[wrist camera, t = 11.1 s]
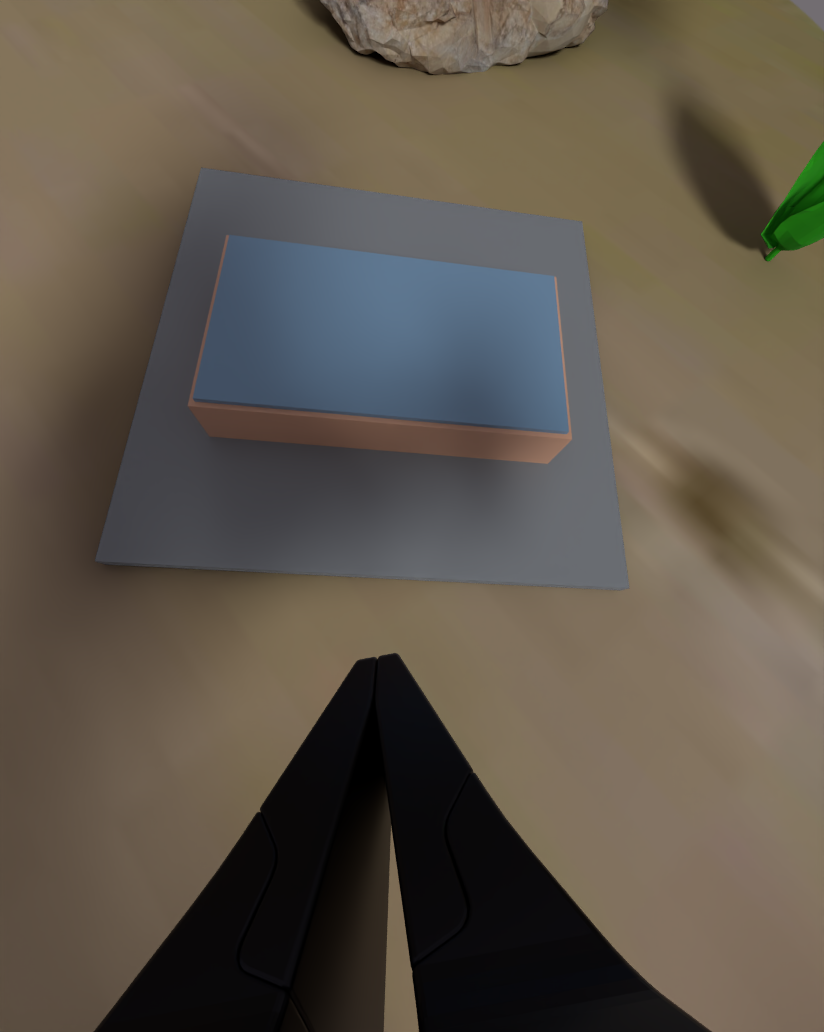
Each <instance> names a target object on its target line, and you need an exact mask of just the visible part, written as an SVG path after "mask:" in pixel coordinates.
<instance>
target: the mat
mask: <svg viewBox="0 0 824 1032" xmlns="http://www.w3.org/2000/svg"><path fill="white" fill-rule="evenodd" d="M226 235H235V236H243V237H251V238H259V239H267V240H275V241H282V242H290V243H298V244H306V245H314V246H322V247H330V248H338V249H345V250H353V251H361V252H369V253H377V254H385V255H393V256H400V257H408V258H416V259H424V260H432V261H440V262H448V263H456V264H463V265H471V266H479V267H487V268H495V269H503V270H511V271H518V272H526V273H534V274H542V275H550V276H554V277H556V279H557V290H558V300H559V310H560V320H561V331H562V341H563V351H564V361H565V372H566V382H567V392H568V403H569V413H570V423H571V433H572V440H571V441H570V442H569V443H568V444H567V445H566V446H565V447H564V448H563V449H562V450H561V451H560V452H559V453H558V454H557V455H556V456H555V457H554V458H553V459H552V460H551V461H550V462H549V463H548V464H544V463H532V462H519V461H507V460H494V459H482V458H470V457H457V456H445V455H432V454H420V453H407V452H395V451H383V450H370V449H358V448H345V447H333V446H320V445H308V444H296V443H283V442H271V441H258V440H246V439H233V438H221V437H209V435H208V434H207V432H206V431H205V430H204V428H203V427H202V425H201V424H200V423H199V421H198V420H197V418H196V417H195V416H194V414H193V413H192V411H191V410H190V409H189V407H188V402H189V398H190V393H191V389H192V384H193V380H194V376H195V371H196V367H197V362H198V358H199V354H200V349H201V345H202V340H203V336H204V332H205V327H206V323H207V318H208V314H209V310H210V305H211V301H212V296H213V292H214V288H215V283H216V279H217V274H218V270H219V266H220V261H221V257H222V252H223V248H224V244H225V239H226ZM95 561H96V562H99V563H102V564H105V565H125V566H145V567H165V568H185V569H205V570H225V571H245V572H265V573H285V574H305V575H325V576H345V577H365V578H385V579H405V580H425V581H445V582H465V583H485V584H505V585H525V586H545V587H565V588H585V589H605V590H624V589H628V588H629V582H628V574H627V567H626V559H625V551H624V543H623V536H622V528H621V520H620V512H619V505H618V497H617V489H616V481H615V474H614V466H613V458H612V450H611V442H610V435H609V427H608V419H607V411H606V404H605V396H604V388H603V380H602V373H601V365H600V357H599V349H598V342H597V334H596V326H595V318H594V311H593V303H592V295H591V287H590V280H589V272H588V264H587V256H586V249H585V241H584V233H583V225H582V222H581V221H574V220H567V219H560V218H553V217H546V216H539V215H532V214H525V213H518V212H511V211H504V210H497V209H490V208H483V207H475V206H468V205H461V204H454V203H447V202H440V201H433V200H426V199H419V198H412V197H405V196H398V195H391V194H384V193H377V192H370V191H363V190H355V189H348V188H341V187H334V186H327V185H320V184H313V183H306V182H299V181H292V180H285V179H278V178H271V177H264V176H257V175H250V174H243V173H235V172H228V171H221V170H214V169H207V168H201V170H200V174H199V178H198V181H197V185H196V189H195V192H194V196H193V200H192V203H191V207H190V211H189V215H188V218H187V222H186V226H185V229H184V233H183V237H182V240H181V244H180V248H179V252H178V255H177V259H176V263H175V266H174V270H173V274H172V277H171V281H170V285H169V288H168V292H167V296H166V300H165V303H164V307H163V311H162V314H161V318H160V322H159V325H158V329H157V333H156V337H155V340H154V344H153V348H152V351H151V355H150V359H149V362H148V366H147V370H146V373H145V377H144V381H143V385H142V388H141V392H140V396H139V399H138V403H137V407H136V410H135V414H134V418H133V421H132V425H131V429H130V433H129V436H128V440H127V444H126V447H125V451H124V455H123V458H122V462H121V466H120V470H119V473H118V477H117V481H116V484H115V488H114V492H113V495H112V499H111V503H110V506H109V510H108V514H107V518H106V521H105V525H104V529H103V532H102V536H101V540H100V543H99V547H98V551H97V554H96V558H95Z"/></svg>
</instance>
